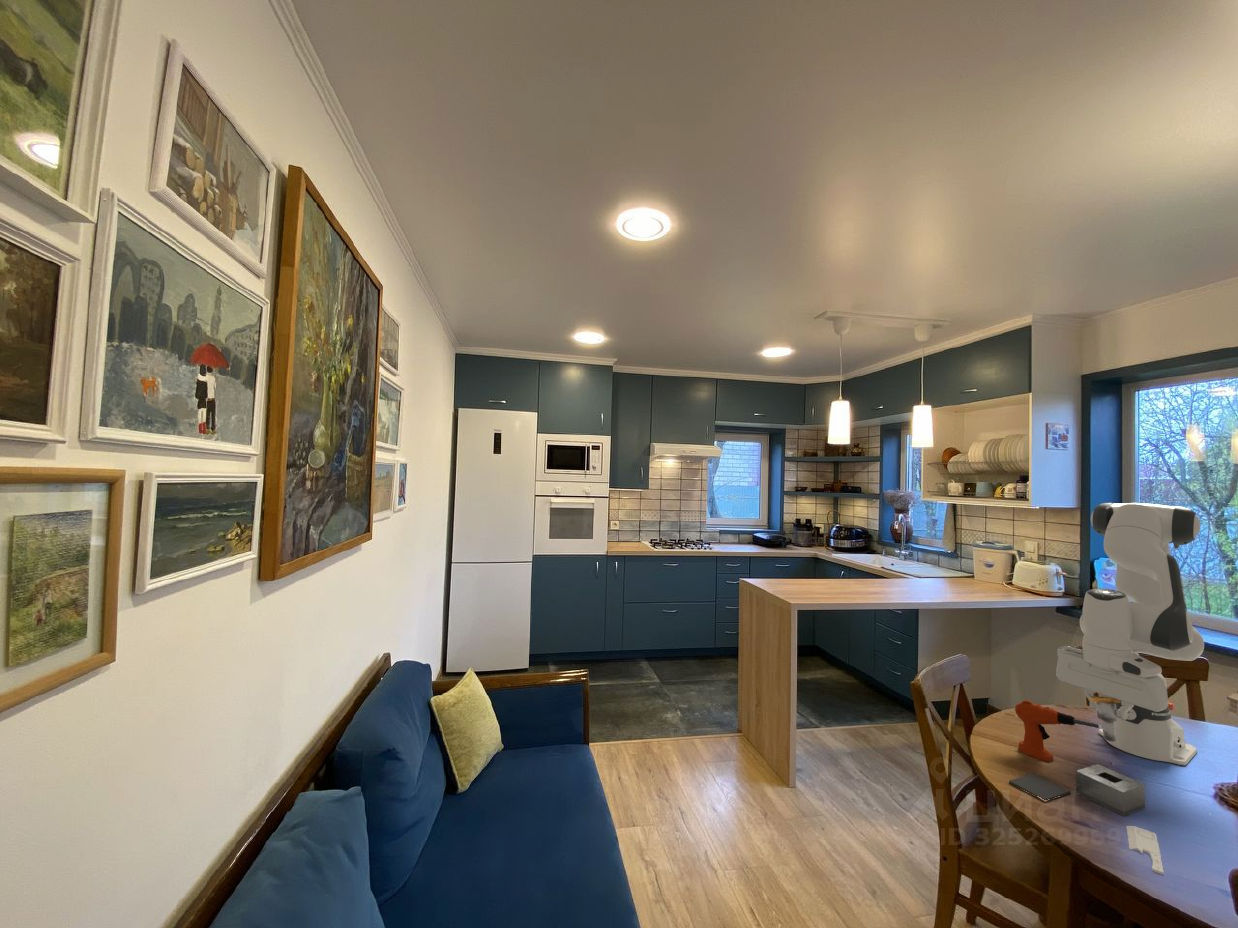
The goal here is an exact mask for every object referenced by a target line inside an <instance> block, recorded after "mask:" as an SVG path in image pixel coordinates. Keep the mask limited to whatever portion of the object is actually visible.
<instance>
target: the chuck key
mask: <svg viewBox="0 0 1238 928" xmlns="http://www.w3.org/2000/svg"><path fill="white" fill-rule="evenodd" d="M1090 701H1092V702H1096V716H1097V719H1100V720H1101V727H1102V728H1101V729H1103V736H1102V737H1103V739H1104V740H1105V741H1106V740H1108V741H1112V742H1115V741H1116V734H1115V726H1114V722H1117V721H1118V718H1117V717H1116V703H1121V701H1120V700H1118V699H1115V698H1112V697H1109V696H1096V695H1094V696H1090ZM1090 701H1089V702H1090Z"/></svg>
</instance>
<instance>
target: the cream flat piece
mask: <svg viewBox="0 0 1238 928" xmlns="http://www.w3.org/2000/svg"><path fill="white" fill-rule="evenodd" d="M1126 833H1127V840H1128V847H1129V850H1133V851H1138V852H1139V853H1140V854H1141V855H1144V853H1147V854H1148V855H1149V857H1150V859H1151V862H1152V863H1151V864H1152V865H1151V871H1152V872H1155V873H1158V874H1160V875H1165V871H1164V866H1163V863H1162V856H1161V849H1160V845H1159V841H1158V838H1157V834H1156V833H1155V832H1153V831H1149V830H1147V828H1146V829H1144V828H1141V827H1139V826H1135V825H1126Z"/></svg>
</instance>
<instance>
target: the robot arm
mask: <svg viewBox="0 0 1238 928" xmlns="http://www.w3.org/2000/svg"><path fill="white" fill-rule="evenodd" d="M1090 523H1091V526H1092V529H1093V531H1094V532H1095V533H1096V534H1098V535H1100V536H1103V537H1104V538H1103V551H1104V553H1105V555H1106V556H1107V557H1108V558H1109V559H1110V560H1111V561H1112V562H1113V563H1115V564H1116V574H1115V589H1114V588H1113V589H1111V588H1103V587H1101V588H1092V589H1088V590H1087V591H1086V592H1085V593H1084V594H1085V595H1084V598H1083V605H1082V608H1081V615H1080V618H1079V627H1080V630H1081V631H1082V633H1083V637H1082V649H1080V648H1076V647H1071V646H1069V645H1063V646H1059V647H1058V648H1057V651H1056V653H1057V654H1056V655H1057V663H1056V669H1055V671H1056V672H1055V676H1056V677H1057V679H1058V680H1059V681H1060V682H1063V683H1067V684H1069V685H1073V686H1075V687H1079V688H1082V689H1083V694H1084V695H1085V697H1086V699H1088V702H1089V709H1091V710H1096V702H1092V701H1090V696H1095V695H1094V694H1096V693H1097V694H1099V695H1103V696H1105V697H1112V698H1115V699H1118V700H1120V701H1121V703H1116V717H1117V718H1118V721H1117V722H1114V726H1115V734H1116V741H1115V742H1112V741H1108V740H1105V741H1106V742H1108V743H1109V744H1110V745H1111V746H1113V747H1114V748H1117V749H1118V750H1121V751H1123V752H1125V753H1128V754H1131V755H1134V756H1136V757H1141V758H1144V759H1147V760H1152V761H1159V762H1165V763H1171V764H1176V765H1180V766H1186V765H1188V764H1189V762H1190V761H1191V760H1192V759H1193V757H1194V756H1195V755H1196V754H1197V752H1198V749H1197V747H1195V746H1194V745H1191V744H1190V743H1187V742H1186V741H1185V740H1186V739H1185V730H1184V728H1183V727H1182V726H1180V725H1179V724H1178V723H1177V722H1176V721H1175V720H1173V719H1172V715H1171V713H1172V712H1171V711H1174V710H1175V705H1174V703H1173V702H1169V699H1168V690H1167V680H1166V678H1165V677H1164V676H1163V674H1162V672H1163V670H1162V667H1161V666H1160V665H1159V664H1156V663H1154V662H1152V661H1151V660H1148V659H1147V658H1144V657H1142V656H1141V655H1140V654H1139V653H1141V654H1145V655H1150V656H1154V657H1158V658H1163V659H1167V660H1173V661H1174V660H1175V661H1185V662H1186V661H1188V662H1189V661H1190V662H1192V661H1194V660H1196V659H1198V658H1199V657H1200V656H1202V654H1203V653H1204V649H1205V641H1204V638H1203V637H1202V635H1201V633H1200V631H1198V629H1196V628H1195V627H1194V626H1193V623H1192V620H1191V618H1190V616H1189V614H1188V611H1187V605H1186V597H1185V591H1184V586H1183V581H1182V575H1181V571H1180V566H1179V564H1178V561H1177V560H1176V558H1175V555H1172V554H1171V551H1170V546H1169V544H1173V548H1174V550H1176V549H1179V547H1180V546H1183V545H1188V544H1190V543H1192V542H1193V541H1195V539H1196V538H1197V536H1198V535H1199V534H1200V531H1201V522H1200V519H1199V517H1198V515H1197V513H1196V512H1195V511H1194V510H1193V509H1191V508H1187V507H1183V506H1179V505H1178V506H1177V505H1176V506H1172V505H1171V506H1170V505H1163V504H1155V503H1154V504H1153V503H1146V502H1145V503H1139V502H1129V503H1128V502H1127V503H1114V502H1104V503H1100V504H1098V505H1096V506H1094V509H1093V511H1092V513H1091V515H1090ZM1096 711H1097V710H1096ZM1098 734H1099V735H1100V736H1102V737H1103V728H1098Z"/></svg>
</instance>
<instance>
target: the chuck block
mask: <svg viewBox="0 0 1238 928" xmlns="http://www.w3.org/2000/svg"><path fill="white" fill-rule="evenodd" d="M1075 775H1076V776H1075V779H1076V780H1075V782H1076V785H1075V786H1076V794H1077V795H1079V796H1081V797H1083V798H1085V799H1087V800H1090V801H1091V802H1094V803H1095V804H1098V805H1099V806H1101V807H1104V808H1105V809H1108V810H1110V811H1112V812H1114V813H1116V814H1117V815H1120V816H1122V817H1126V816H1129V815H1131V814H1133V813H1135V812H1139V811H1140V810H1143V809H1146V784H1145V783H1143V782H1140V781H1138V780H1136V779H1133V778H1131V777H1129V776H1126V775H1123V774H1122V773H1120V772H1117V771H1115V770H1113V769H1110V768H1107V767H1105V766H1103V765H1102V764H1098V763H1097V764H1093V765H1090V766H1087V767H1084V768H1081V769H1077V770H1076V771H1075Z"/></svg>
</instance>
